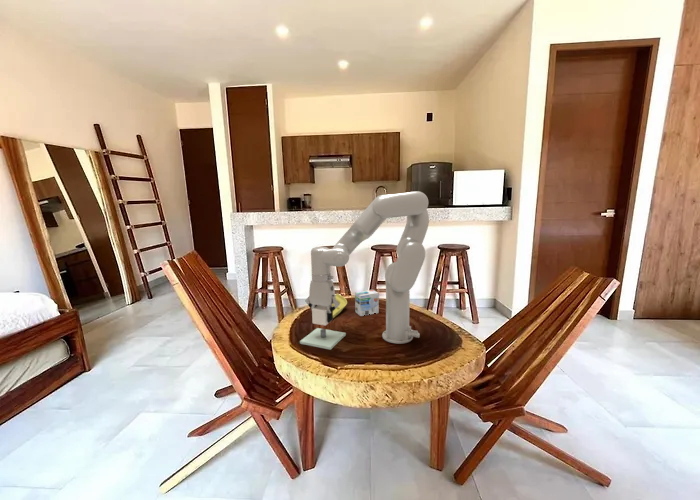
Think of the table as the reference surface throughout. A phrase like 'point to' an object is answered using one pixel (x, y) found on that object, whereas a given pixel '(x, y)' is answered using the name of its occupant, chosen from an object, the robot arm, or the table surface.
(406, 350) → the table surface
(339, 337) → the stub plate
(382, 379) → the table surface
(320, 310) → the off-white plain cube
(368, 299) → the light bulb box
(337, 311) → the plastic component
